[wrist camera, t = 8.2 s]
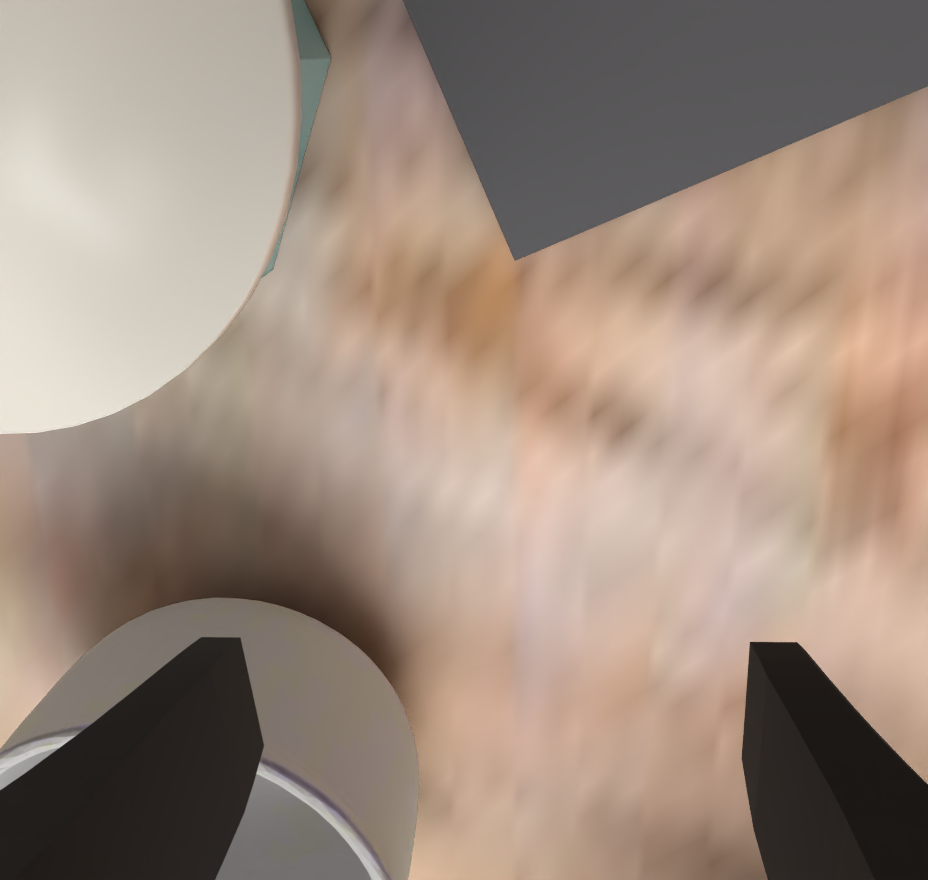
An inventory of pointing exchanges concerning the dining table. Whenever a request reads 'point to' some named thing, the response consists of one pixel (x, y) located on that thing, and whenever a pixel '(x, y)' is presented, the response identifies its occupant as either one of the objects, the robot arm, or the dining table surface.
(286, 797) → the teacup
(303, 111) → the bowl
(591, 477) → the dining table surface
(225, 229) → the lid
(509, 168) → the mat
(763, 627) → the dining table surface
